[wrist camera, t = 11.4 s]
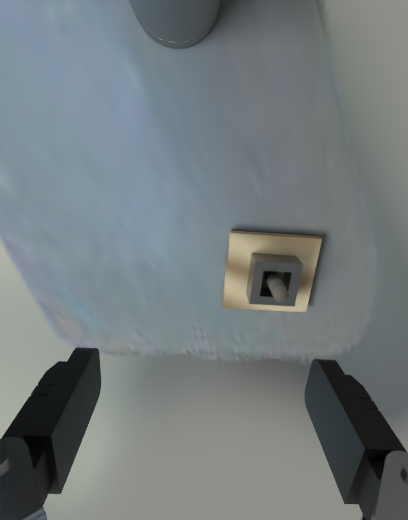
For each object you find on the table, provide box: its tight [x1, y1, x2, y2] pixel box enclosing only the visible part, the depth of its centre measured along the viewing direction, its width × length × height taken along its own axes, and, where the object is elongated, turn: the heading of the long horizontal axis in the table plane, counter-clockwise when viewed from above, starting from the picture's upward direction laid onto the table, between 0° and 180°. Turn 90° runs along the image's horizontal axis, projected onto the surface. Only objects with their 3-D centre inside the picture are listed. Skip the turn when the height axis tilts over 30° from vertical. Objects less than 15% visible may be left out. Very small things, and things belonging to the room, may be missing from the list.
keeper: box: [222, 231, 322, 312], centre depth 39 cm, size 11×12×7 cm
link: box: [246, 253, 303, 307], centre depth 40 cm, size 6×6×3 cm
